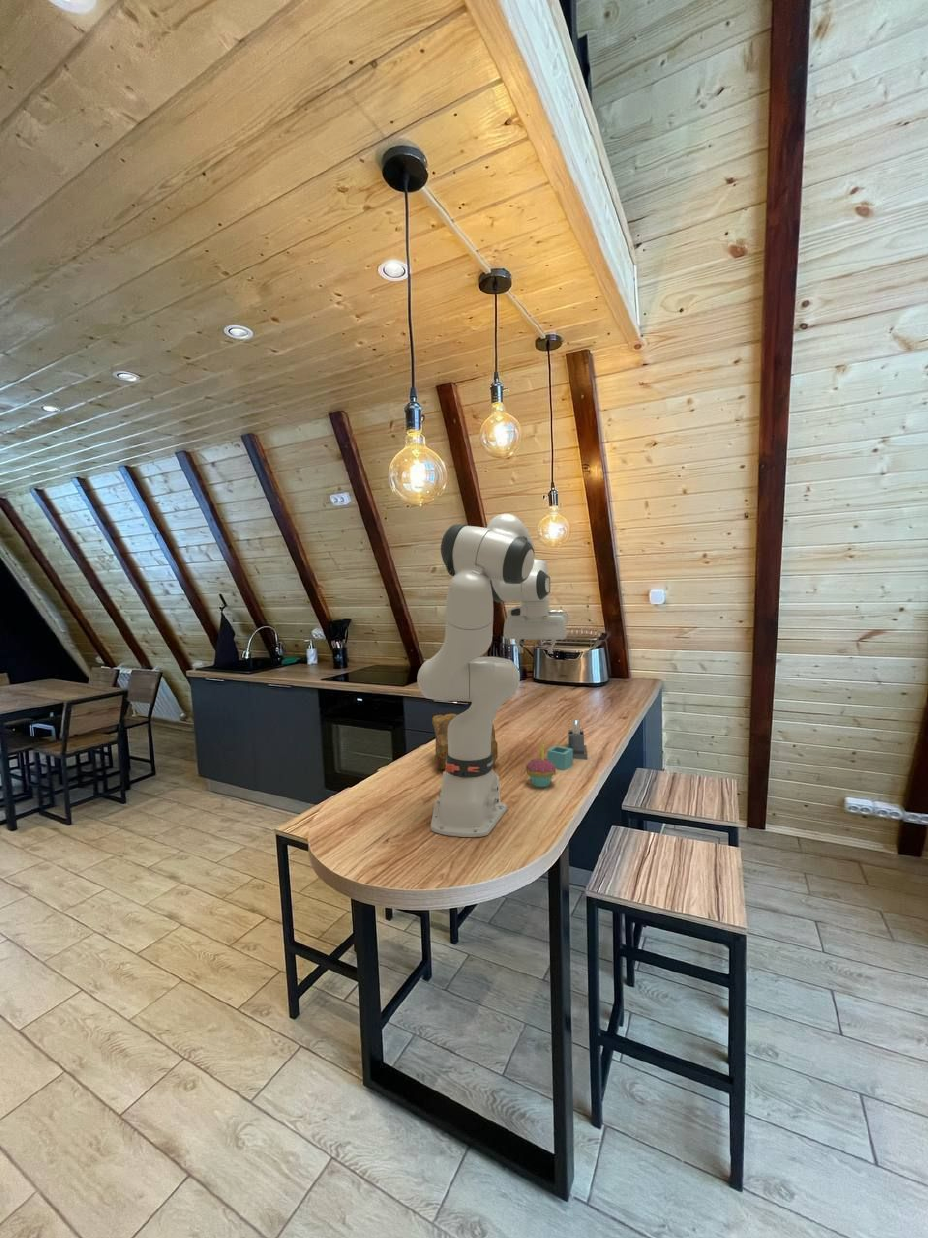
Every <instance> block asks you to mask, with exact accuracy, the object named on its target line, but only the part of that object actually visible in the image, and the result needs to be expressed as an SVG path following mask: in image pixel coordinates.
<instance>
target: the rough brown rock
mask: <svg viewBox="0 0 928 1238" xmlns="http://www.w3.org/2000/svg"><path fill="white" fill-rule="evenodd" d="M457 715H458V714H456V713H449V714H448V713H447V714H444V715H443V714H438V715H437V714H436V715H433V717H432V722H431V723H432V725H433V730H434V735H435V759H436V763H437V768H438V770H445V767H446V757H447V753H448V725H449V723H450V721H451V720H452V719H453V718H454V717H455V716H457ZM495 732H496V731H495V725H494V723H493V724H492V733H491V752H492V753H493V765H494V764H495V763H496V761H497V759H498V757H499V751H498V741H496V733H495Z"/></svg>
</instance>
